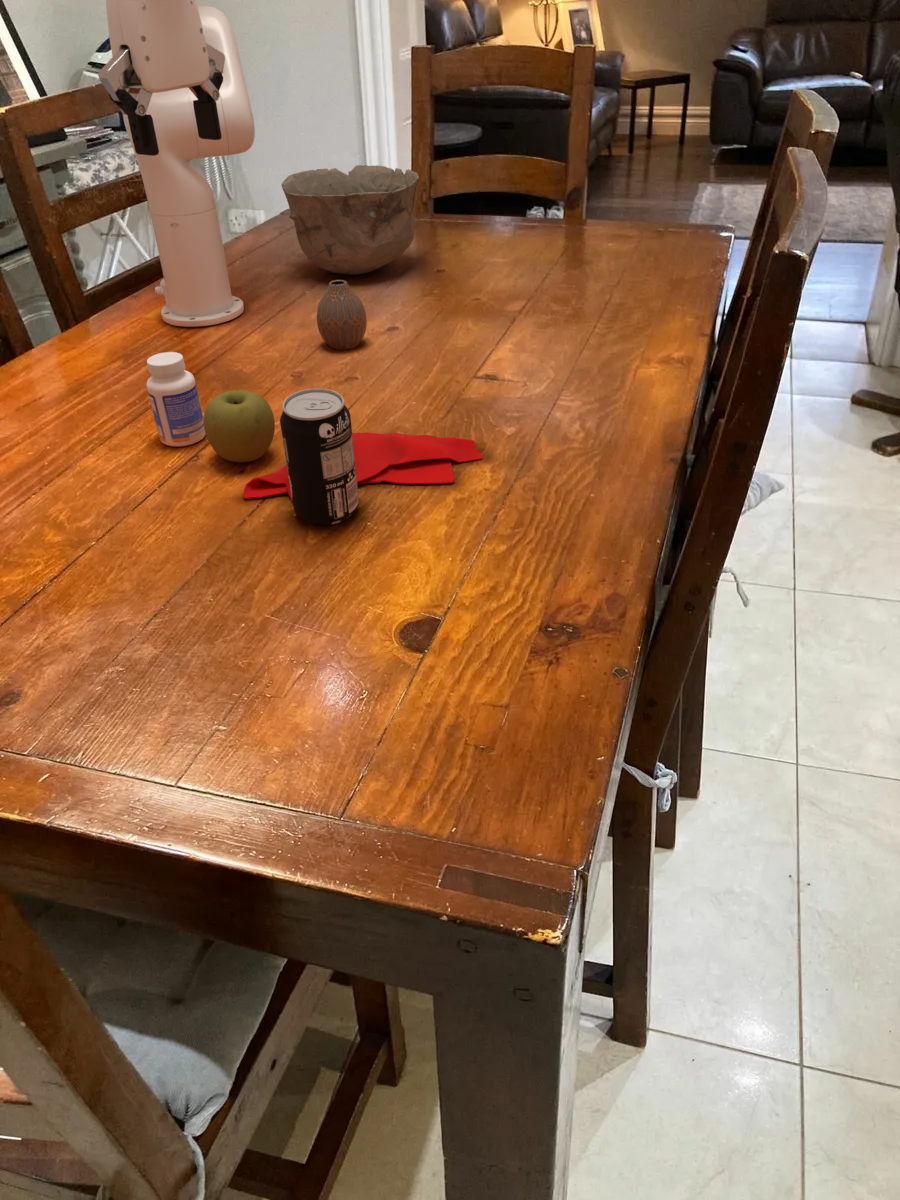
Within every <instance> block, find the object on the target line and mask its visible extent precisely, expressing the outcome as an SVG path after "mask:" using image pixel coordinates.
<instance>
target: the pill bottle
mask: <svg viewBox="0 0 900 1200" xmlns="http://www.w3.org/2000/svg"><path fill="white" fill-rule="evenodd" d="M146 365H147V371H148V372H149V374H150V375H151V376H150V377H148V379H147V381H146V391H147V394H148V399H149V402H150V406H151V411H152V415H153V418H154V422H155V427H156V431H157V435H158V438H159V440H160V442H161V443H162V444H163V445H166V446H167V447H168V446H169V447H176V448H177V447H186V446H190V445H194V444H196V443H199V442H200V441H201V440H203V439H204V438H205V437H206V433H205V429H204V414H203V410H202V406H201V402H200V397H199V391H198V388H197V383H196V379H195V376H194V375H193V373H191V372H190V371H188V370H186V364H185V359H184V356H183V354H181V353H180V352H176V351H165V352H158V353H156V354H153V355H150V356H149V357H148V358H147V360H146Z"/></svg>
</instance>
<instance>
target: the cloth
mask: <svg viewBox="0 0 900 1200" xmlns="http://www.w3.org/2000/svg"><path fill="white" fill-rule="evenodd" d="M352 437H353V447H354V457H355V466H356V476H357V485H363V484H370V483H371V484H373V483H374V484H375V483H379V484H380V483H381V482H386V483H390V484H396V485H440V484H441V485H444V484H454V482H455V476H454V470H453V466H452V463H451V461H453V462H456V463H458V464H462V463H466V462H467V463H468V462H473V461H474V462H475V461H481V460H483V458H484V456H483V455H482V453H480V451H478V449H477V446H476V443H475V440H473V439H468V438H460V437H455V436H447V437H439V436H434V435H430V434H417V435H415V434H414V435H413V434H404V433H398V432H394V433H388V434H387V433H376V432H352ZM285 494H288V496H289V499H290V501H291V503H292V504H293V502H292V495H291V489H290V483H289V476H288V470H287V464H285V465H284V466H283V467H281V468H280V469H279V470H277V471H276V472H273V473H267V474H263V475H261V476H257V477H253V478H251V479H250V480H249V481H248V482H247V483H246V484H245V485H244V490H243V494H242V498H243V499H245V500H250V499H262V498H267V497H268V498H269V497H272V496H273V497H274V496H278V495H285Z"/></svg>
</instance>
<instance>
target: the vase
mask: <svg viewBox="0 0 900 1200" xmlns="http://www.w3.org/2000/svg"><path fill="white" fill-rule="evenodd" d="M367 322H368V321H367V312H366V309H365V306H364V303H363V301H362V300H361V299H360V298H359V296H358V295H357V294H356V293H355V292H354V291H353V290H352V288H351V287H350V285H349V283H348V282H347V280H344V279H335V280H331V281H329V283H328V286H327V288H326V291H325V292H324V294H323V296H322V297H321V299H320V301H319V303H318V305H317V310H316V324H317V329H318V332H319V334H320V337H321V338H322V340H323V341H324V342H325V344H327V346H329V347H330V348H331V349H336V350H350V349H353V348H355V347H357V346H359V345H360V343H361V342H362V341H363V339H364V338H365V335H366V331H367V327H368V325H367V324H368V323H367Z"/></svg>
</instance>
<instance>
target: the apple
mask: <svg viewBox="0 0 900 1200" xmlns="http://www.w3.org/2000/svg"><path fill="white" fill-rule="evenodd" d="M203 413H204V414H203V419H204V429H205V433H206V435H205V437H206V439H207V442H208V443H209V444H210V447H211V448H212V450H214V451H215V453H216V454H217V455H219V456H220V457H221V458H222V459H224V460H226V461H228V462H234V463H249V462H253V461H256V460H258V459H260V458H261V457H262V456H264V455H265V453H266V452H267V451H268V450H269V449H270V447H271V445H272V443H273V440H274V436H275V431H276V422H275V421H276V420H275V416H274V412H273V409H272V407H271V405H270V404H269V403H268V401H267V400H266V399H265V398H264V397H263V396H262V395H260V394H258V393H256V392H255V391H252V390H244V389H243V390H240V389H239V390H229V391H225V392H222V393H220V394H218V395H216V396H215V397H213V398H212V400H210V401H209V402H208V404H207V406H206V408H205V410H204V412H203Z"/></svg>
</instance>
